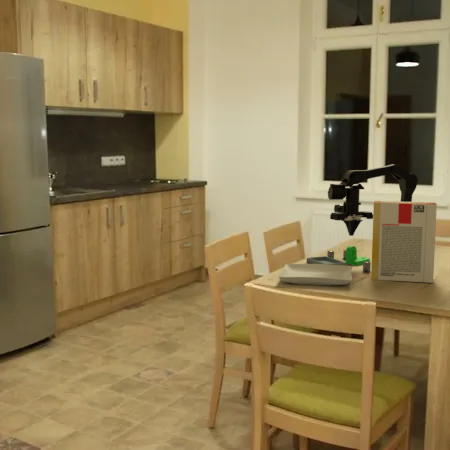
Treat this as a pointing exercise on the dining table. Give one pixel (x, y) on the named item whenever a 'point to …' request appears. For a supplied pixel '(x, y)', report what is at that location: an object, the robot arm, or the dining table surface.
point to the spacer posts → (331, 254)
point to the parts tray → (325, 261)
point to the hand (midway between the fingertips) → (351, 235)
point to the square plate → (316, 274)
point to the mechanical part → (354, 257)
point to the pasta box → (403, 241)
